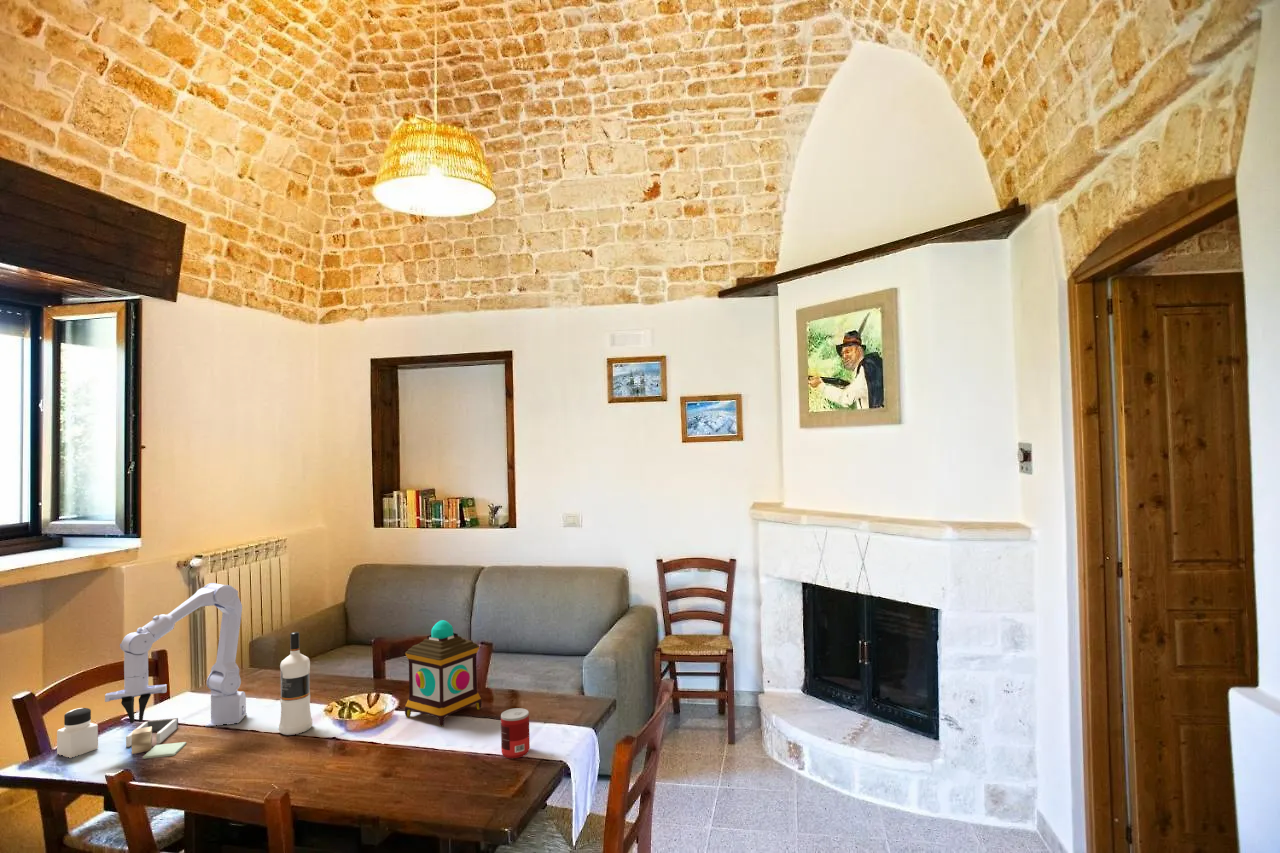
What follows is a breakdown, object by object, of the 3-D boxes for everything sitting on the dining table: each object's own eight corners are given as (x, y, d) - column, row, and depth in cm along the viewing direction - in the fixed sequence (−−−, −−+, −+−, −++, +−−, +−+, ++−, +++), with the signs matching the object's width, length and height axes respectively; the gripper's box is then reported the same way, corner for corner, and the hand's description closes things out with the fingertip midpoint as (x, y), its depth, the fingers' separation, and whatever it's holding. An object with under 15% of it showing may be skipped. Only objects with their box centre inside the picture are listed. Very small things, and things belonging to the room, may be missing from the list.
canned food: (534, 748, 198) (533, 709, 199) (520, 760, 191) (520, 720, 191) (510, 745, 201) (510, 706, 201) (496, 757, 193) (495, 717, 194)
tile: (186, 743, 207) (186, 741, 207) (174, 755, 199) (174, 753, 199) (156, 746, 206) (156, 744, 206) (142, 758, 198) (142, 756, 198)
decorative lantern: (488, 708, 230) (486, 616, 230) (441, 730, 213) (439, 631, 214) (445, 698, 240) (444, 610, 241) (398, 717, 224) (396, 623, 224)
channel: (178, 727, 220) (177, 718, 220) (160, 743, 208) (160, 733, 208) (145, 730, 218) (145, 721, 218) (126, 746, 206) (126, 736, 206)
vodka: (311, 732, 213) (310, 634, 214) (277, 738, 210) (276, 637, 210) (313, 721, 222) (311, 627, 222) (280, 727, 218) (279, 630, 219)
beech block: (152, 744, 207) (151, 726, 207) (150, 750, 203) (150, 731, 204) (133, 748, 205) (133, 729, 205) (131, 754, 201) (131, 735, 201)
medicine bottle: (98, 748, 205) (98, 707, 206) (70, 758, 199) (70, 716, 199) (84, 744, 208) (84, 704, 209) (56, 754, 202) (56, 712, 202)
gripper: (167, 666, 211) (168, 711, 211) (108, 675, 204) (108, 721, 204) (164, 673, 205) (165, 719, 204) (103, 681, 198) (103, 730, 197)
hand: (136, 721), depth 204 cm, fingers closed
